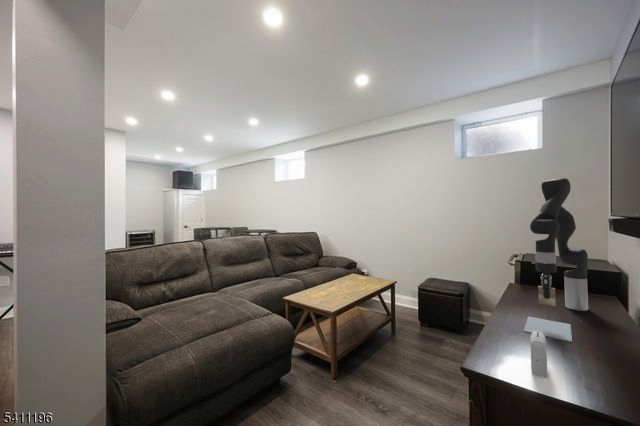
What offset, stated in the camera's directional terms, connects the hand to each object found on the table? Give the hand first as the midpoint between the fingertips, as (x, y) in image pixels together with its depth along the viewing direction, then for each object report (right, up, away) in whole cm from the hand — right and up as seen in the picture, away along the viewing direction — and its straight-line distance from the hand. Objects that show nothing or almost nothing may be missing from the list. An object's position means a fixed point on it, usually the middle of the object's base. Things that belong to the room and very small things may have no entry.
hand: (546, 297), depth 126 cm
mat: (-2, -13, -2) cm, 14 cm away
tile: (0, -3, 0) cm, 3 cm away
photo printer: (-32, -14, -34) cm, 49 cm away
